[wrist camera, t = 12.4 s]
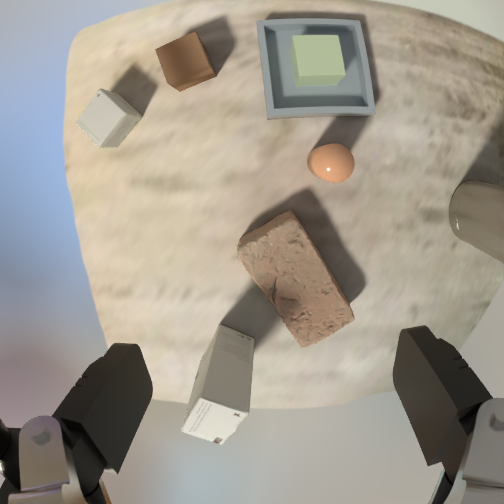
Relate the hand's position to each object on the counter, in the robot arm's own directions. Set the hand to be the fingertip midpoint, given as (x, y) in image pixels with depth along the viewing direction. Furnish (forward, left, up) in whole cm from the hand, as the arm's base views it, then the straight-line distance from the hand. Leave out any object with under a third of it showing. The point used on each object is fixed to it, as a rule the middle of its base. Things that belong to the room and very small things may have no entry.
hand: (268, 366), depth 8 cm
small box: (+19, -14, -30) cm, 38 cm away
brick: (-3, +10, -31) cm, 32 cm away
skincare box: (+8, +21, -30) cm, 38 cm away
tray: (-7, -17, -30) cm, 35 cm away
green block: (-7, -17, -29) cm, 35 cm away
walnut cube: (+8, -19, -30) cm, 37 cm away
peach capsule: (-7, -5, -30) cm, 31 cm away
